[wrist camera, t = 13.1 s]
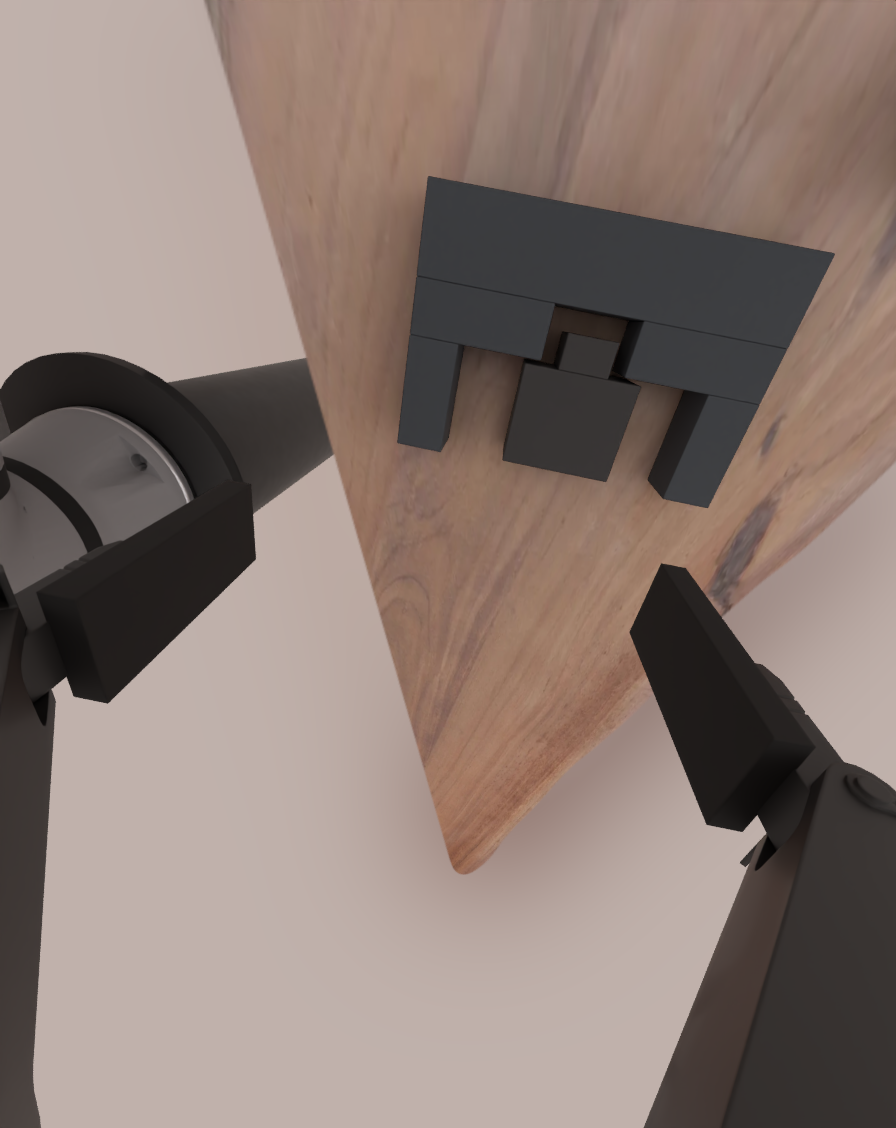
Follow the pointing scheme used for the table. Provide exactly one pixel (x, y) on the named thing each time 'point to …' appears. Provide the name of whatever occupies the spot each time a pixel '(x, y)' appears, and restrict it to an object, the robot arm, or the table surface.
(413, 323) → the pad base
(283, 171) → the table surface
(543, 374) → the black block
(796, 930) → the robot arm
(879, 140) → the table surface
